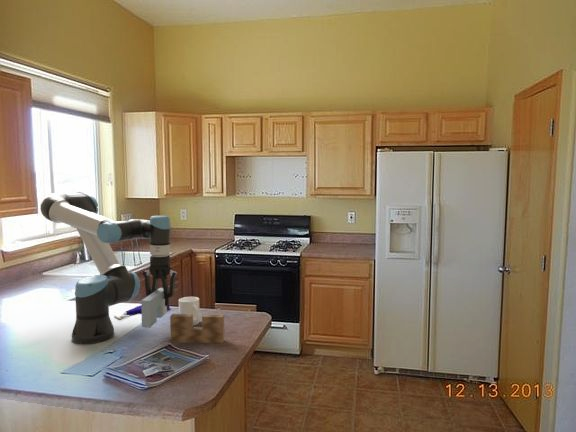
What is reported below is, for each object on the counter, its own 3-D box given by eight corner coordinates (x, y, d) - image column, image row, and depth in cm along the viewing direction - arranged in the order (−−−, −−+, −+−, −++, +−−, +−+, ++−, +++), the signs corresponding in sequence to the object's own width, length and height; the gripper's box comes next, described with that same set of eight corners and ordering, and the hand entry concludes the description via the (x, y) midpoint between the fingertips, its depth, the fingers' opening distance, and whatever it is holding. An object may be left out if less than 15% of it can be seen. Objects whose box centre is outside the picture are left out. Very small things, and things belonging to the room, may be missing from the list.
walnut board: (170, 342, 159) (170, 316, 158) (173, 339, 162) (172, 313, 161) (222, 343, 158) (222, 317, 157) (224, 340, 161) (224, 314, 160)
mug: (188, 330, 172) (188, 304, 171) (175, 323, 181) (175, 298, 180) (207, 326, 177) (206, 301, 176) (193, 319, 186) (193, 295, 186)
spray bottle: (161, 300, 208) (110, 310, 191) (171, 304, 200) (119, 316, 183) (161, 306, 208) (111, 317, 192) (171, 310, 200) (120, 322, 184)
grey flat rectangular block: (141, 327, 151) (141, 300, 150) (159, 312, 169) (159, 287, 168) (149, 327, 151) (149, 300, 150) (166, 312, 169) (166, 288, 168)
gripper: (136, 256, 160) (136, 315, 162) (177, 257, 160) (177, 317, 161) (143, 252, 168) (143, 309, 170) (183, 254, 167) (182, 311, 169)
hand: (160, 313), depth 166 cm, fingers closed on grey flat rectangular block, 3 cm apart
